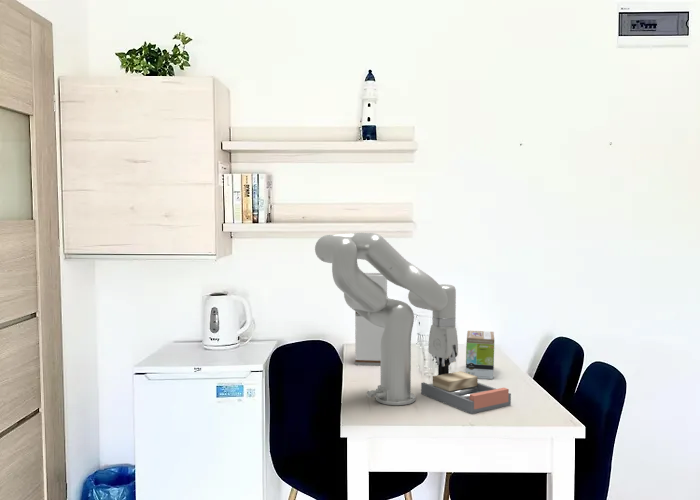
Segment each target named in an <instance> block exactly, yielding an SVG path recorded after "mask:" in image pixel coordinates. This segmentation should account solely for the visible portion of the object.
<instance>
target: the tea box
mask: <svg viewBox="0 0 700 500" xmlns="http://www.w3.org/2000/svg"><path fill="white" fill-rule="evenodd" d="M465 344H466V346H465V373H468V374H471V375H474V376H477V377H478V379H480V380H481V379H482V380H484V379H485V380H494V368H495V367H494V366H495V332H494V331H485V330H467V334H466V343H465Z"/></svg>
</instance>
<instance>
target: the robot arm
mask: <svg viewBox="0 0 700 500" xmlns="http://www.w3.org/2000/svg"><path fill="white" fill-rule="evenodd" d="M314 245H315V246H314V250H315V251H314V252H315V255H316V257H317V258H318V259H319V260H320V261H321V262H324V263H328V264H331V272H332V279H333V282H334V284H335V286H336V287H337V288H338V289H339V290H340V291H341V292H342V293H343V298H344V300H345V303H346V304H347V306H348V307H349V308H350V309H352V310H353V311H354V312H355V311H356V312H357V313H358V314H360V315H361V316H362V317H364V318H365V319H366V320H368V321H369V322H371V323H372V324H374V325H377V326H379V327H383V328H384V332H383V335H382V338H381V346H380V351H381V366H380V385H377V388H376V389H374V390H367V393H366V396H367V397H368V398H372V397H375V400H376V401H377V402H378V403H380V404H383V405H387V406H405V405H410V404H412V403H414V402H416V395H415V394H414V393H412V391H411V390H412V389H411V387H412V386H411V385H412V383H411V382H412V381H411V380H412V379H411V377H412V374H411V371H412V370H411V369H412V368H411V366H412V365H411V363H412V351H411V349H412V348H411V347H412V346H411V345H412V334H413V333H412V332H413V327H414V322H415V321H414V320H415V316H414V315H415V314H414V310H413V309H412V307H411V306H410V305H412V306H414V308H415V307H416V308H419V309H423V310H428V311H431V312H432V320H431V321H432V322H431V323H432V324H431V325H430V330H429V336H428V348H427V349H428V353H429V354H430V355H431V357H433V358H434V359H435V360H436V365H438V367H437V369H438V370H437V371H438V372H437V375H442V374H448V373H449V371H450V367H451V364H452V363H456V362H457V357H458V355H459V341H458V333H457V327H456V319H457V318H456V309H457V305H456V304H457V302H456V301H457V291H456V290H457V289H456V287H455V286H454V285H452V284H439V283H438V281H436V280H435V279H434V278H433V277H431V276H430V275H429V274H428V273H426V272H425V271H423V270H422V269H420V268H418V266H416V265H414V264H413V263H411V262H410V261H408V260H407V259H406V258H405V257H404V256H402V254H400V252H399V251H397V249H396V248H394V246H392V245H391V244H390V242H388V241H387V240H386V239H385V238H384V237H383V236H381V235H380V234H378V233H373V232H354V233H353V232H352V233H341V234H338V233H337V234H326V235H323V236H321V237H319V239H318V240H317V241H316V243H315V244H314ZM358 260H364V261H367V263H368V264H370V265H371V267H373V268H375V270H377V272H378V273H381V274H382V275H383V276H384V277H385V278H386V279H387V281H389V282H390V283H392V284H394V285H396V286H399V287H400V288H403V289H405V290H408V291H409V292H408V294H407V295H408V297H407V299H408V301H409V303H410V305H409V304H408V303H406V302H404V301H402V300H398V299H394V298H388V297H389V296H388V292H387V293H386V291H385V290H384V289H383V288H382V287H381V286H380V285H379V284H377V283H376V282H375V281H373V280H372V279H371V278H370V277H368V276H367V275H366V274H365V273H366V272H364V271H363V270H362V269H360V267H359V264H358ZM449 366H450V367H449Z"/></svg>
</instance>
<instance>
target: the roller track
mask: <svg viewBox="0 0 700 500" xmlns="http://www.w3.org/2000/svg"><path fill="white" fill-rule="evenodd" d="M429 384H430V383H427V382H421V384H420V388H421V389H420V390H421V395H424V396H426V397H428V398H431V399H434V400H436V401H438V402H441V403H444V404H445V405H448V406H450V407H453V408H455V409H458V410H461V411H463V412H465V413H467V414H471V415H473V414H478V413H482V412H487V411H491V410H495V409H500V408H505V407H508V406H511V405H512V393H510V392H509V396H508V402H506V403H501V404H497V405H492V406H488V407H483V408H479V409H474V401H472V400H469V399H466V398H464V397H461V395H460V396H458V395H456V394H453V393H450V392H448V391H445V390H442V389H440V388H437V387H435V386H432V385H429ZM474 387H475V386H474ZM477 387H478V389H479V391H478V392H480V391H485V390H488V391H489V390H494V389H496V387H492V386H489V385H487V384H483V383H480V382H478V385H477ZM469 388H470V387H469Z"/></svg>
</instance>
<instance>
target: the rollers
mask: <svg viewBox="0 0 700 500" xmlns="http://www.w3.org/2000/svg"><path fill="white" fill-rule="evenodd" d="M428 384H429V385H432V386H433V383H428ZM435 387H436V386H435ZM437 388H438V387H437ZM440 389H441V388H440ZM442 390H444V389H442ZM445 391H446V390H445ZM478 391H479V389H478V387H477V386H475V387H470V388H464V389H459V390H453V391H448V392H450V393H453V394H456V395H458V396H460V395H461V397H464V398H466V399H469V400H470V394H474V393H479V392H478ZM485 391H488V390H485ZM480 392H484V391H480Z"/></svg>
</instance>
